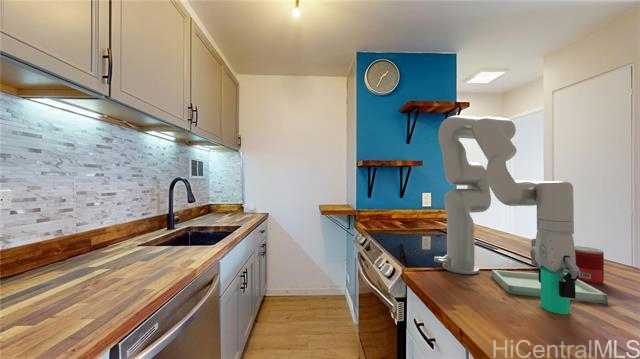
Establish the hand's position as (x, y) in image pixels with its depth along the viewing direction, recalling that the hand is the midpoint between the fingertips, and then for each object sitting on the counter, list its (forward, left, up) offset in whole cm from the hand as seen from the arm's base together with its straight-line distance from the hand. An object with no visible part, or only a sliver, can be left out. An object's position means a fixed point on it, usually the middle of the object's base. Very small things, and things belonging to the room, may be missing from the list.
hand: (555, 289), depth 71 cm
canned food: (+23, +28, -5) cm, 37 cm away
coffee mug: (+17, +43, -5) cm, 47 cm away
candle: (0, 0, -5) cm, 5 cm away
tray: (+4, +15, -5) cm, 17 cm away
